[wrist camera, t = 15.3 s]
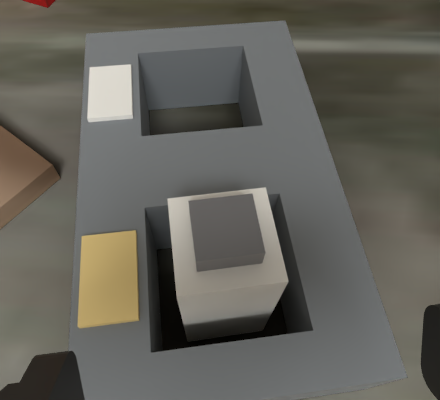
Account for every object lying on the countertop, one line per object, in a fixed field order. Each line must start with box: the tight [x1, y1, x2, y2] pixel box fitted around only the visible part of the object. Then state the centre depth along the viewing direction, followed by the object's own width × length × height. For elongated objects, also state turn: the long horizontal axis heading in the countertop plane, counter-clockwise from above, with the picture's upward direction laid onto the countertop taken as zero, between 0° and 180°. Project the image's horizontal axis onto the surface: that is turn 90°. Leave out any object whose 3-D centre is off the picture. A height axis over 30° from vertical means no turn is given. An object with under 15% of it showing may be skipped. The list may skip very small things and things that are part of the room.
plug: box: [167, 187, 289, 342], centre depth 18 cm, size 4×4×9 cm
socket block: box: [68, 21, 408, 400], centre depth 22 cm, size 22×13×5 cm, turn 8°
